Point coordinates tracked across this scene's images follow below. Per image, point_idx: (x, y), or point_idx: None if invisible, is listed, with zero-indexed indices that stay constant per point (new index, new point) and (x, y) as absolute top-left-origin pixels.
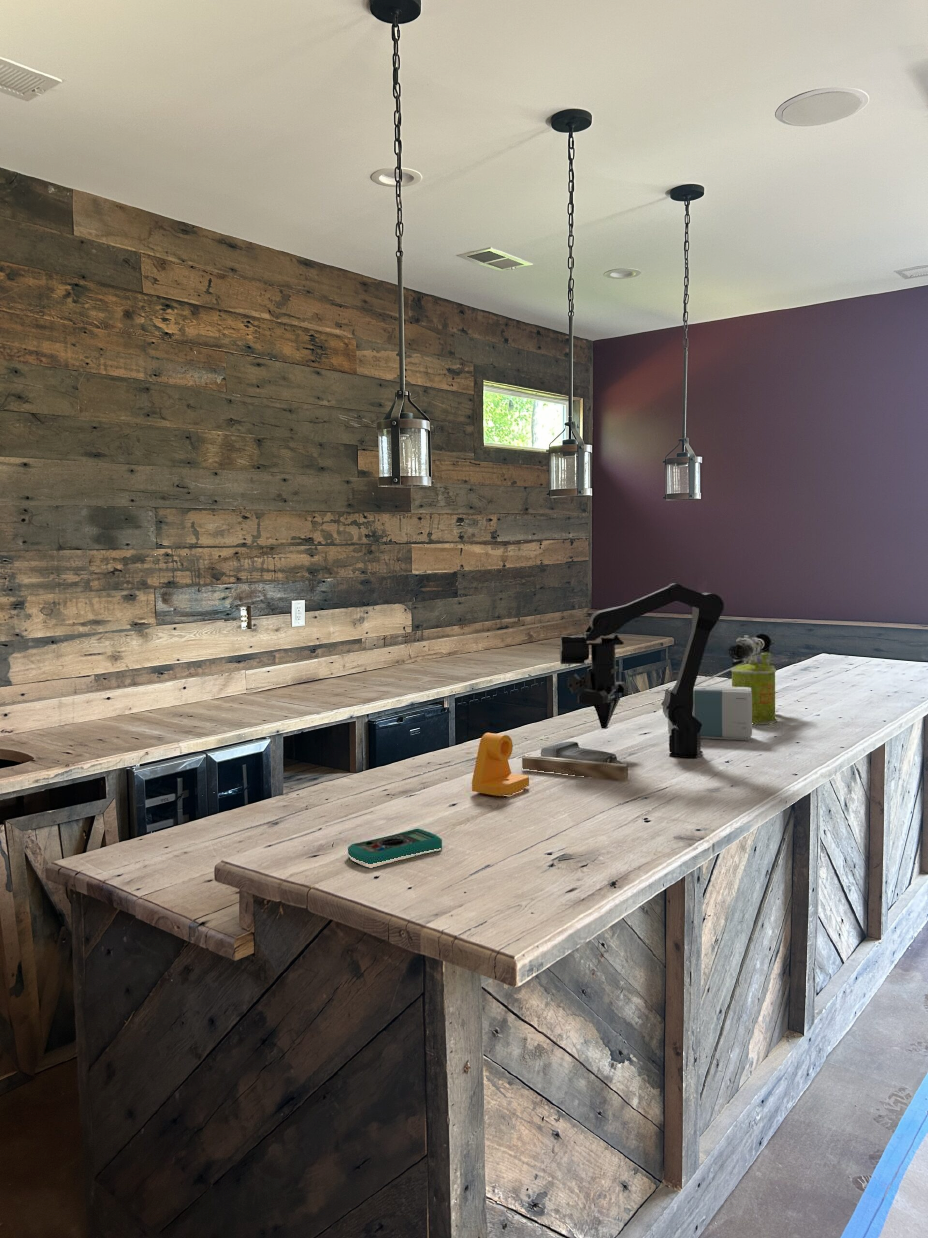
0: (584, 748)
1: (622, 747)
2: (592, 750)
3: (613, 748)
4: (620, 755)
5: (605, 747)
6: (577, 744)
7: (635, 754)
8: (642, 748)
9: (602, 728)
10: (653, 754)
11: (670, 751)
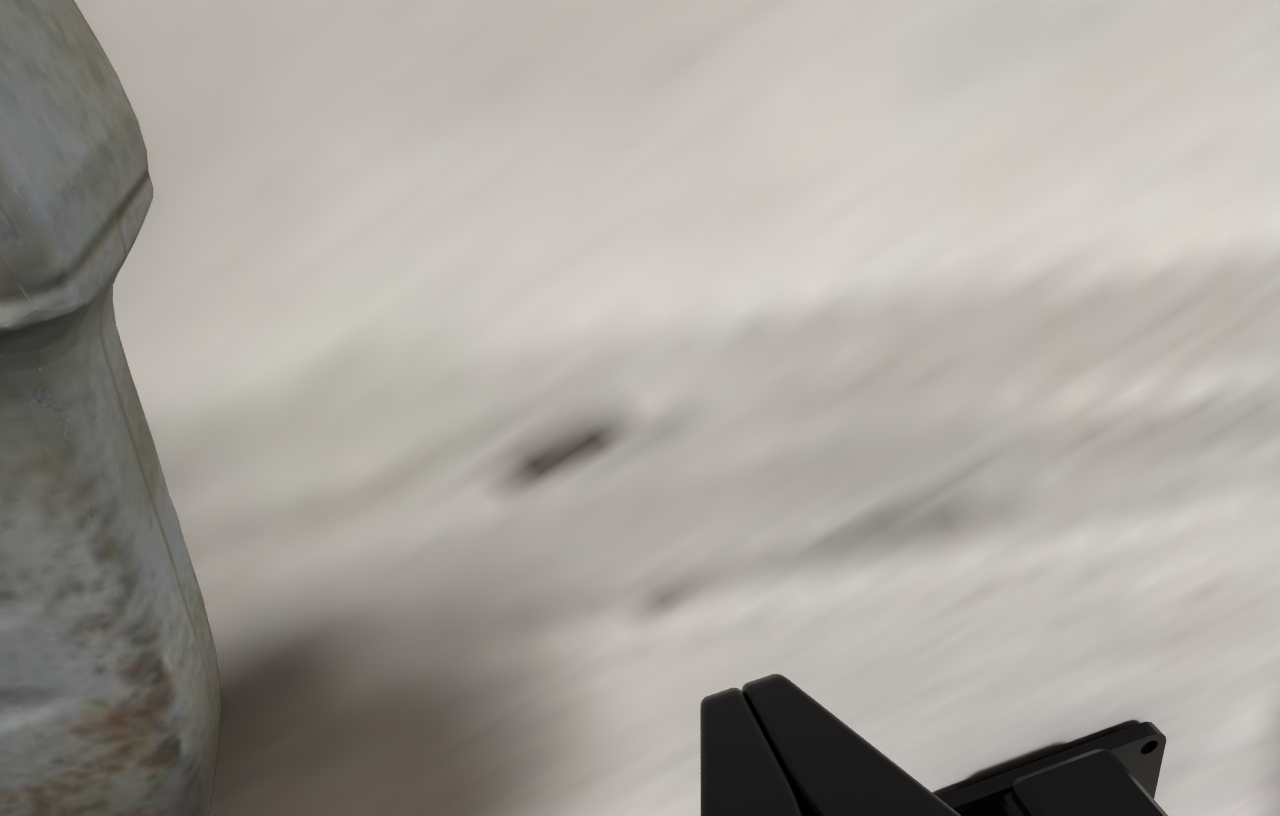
0: (21, 521)
1: (1211, 235)
2: (11, 715)
3: (1126, 173)
4: (778, 485)
5: (1161, 31)
6: (4, 335)
7: (901, 562)
8: (1206, 441)
9: (701, 710)
10: (970, 667)
11: (1015, 793)
